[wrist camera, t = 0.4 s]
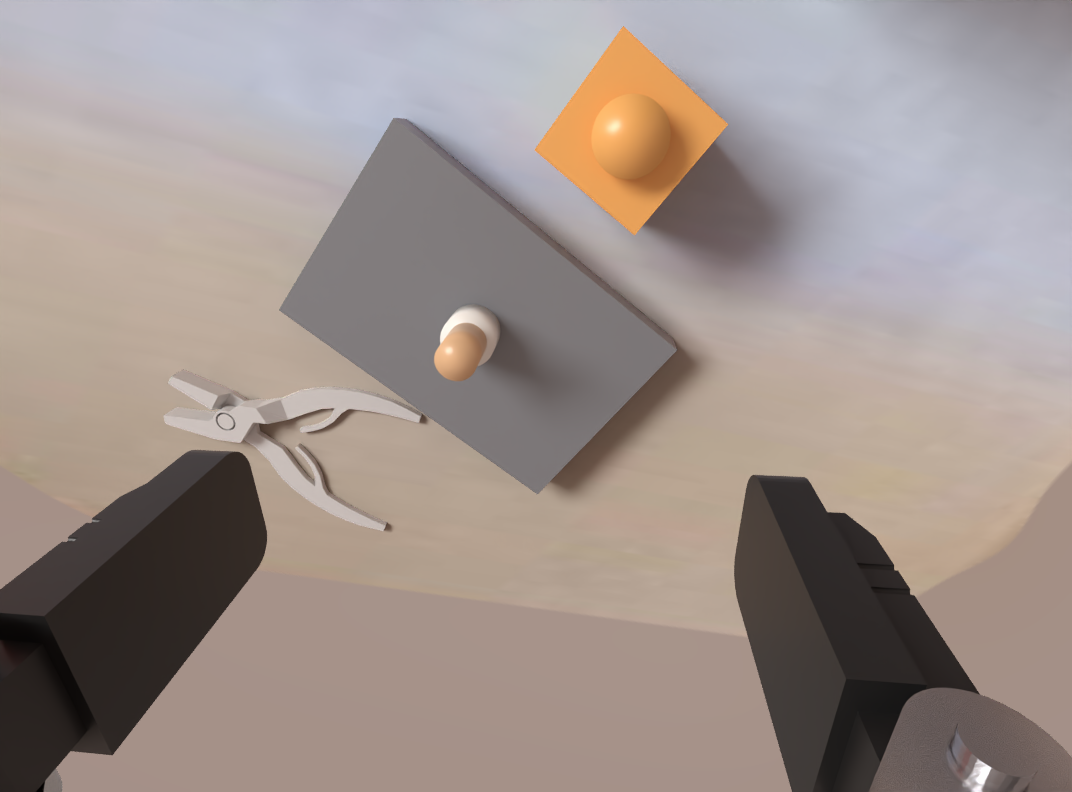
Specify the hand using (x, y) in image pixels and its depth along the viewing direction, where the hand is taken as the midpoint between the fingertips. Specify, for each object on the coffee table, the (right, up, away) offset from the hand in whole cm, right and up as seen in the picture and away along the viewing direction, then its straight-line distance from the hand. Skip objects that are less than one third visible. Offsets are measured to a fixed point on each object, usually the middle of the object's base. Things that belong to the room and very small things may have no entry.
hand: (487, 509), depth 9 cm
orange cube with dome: (+5, +15, +19) cm, 25 cm away
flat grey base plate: (-2, +6, +24) cm, 25 cm away
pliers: (-15, 0, +29) cm, 32 cm away
